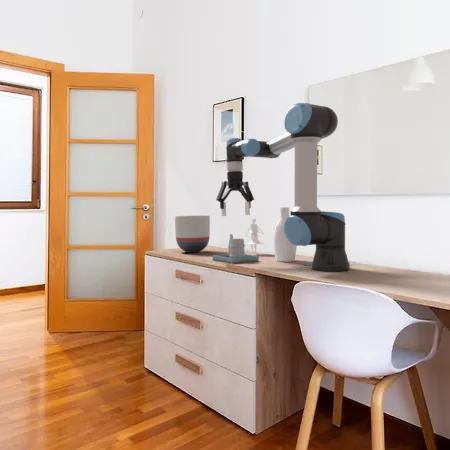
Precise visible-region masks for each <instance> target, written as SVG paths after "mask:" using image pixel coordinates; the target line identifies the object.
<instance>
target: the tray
mask: <svg viewBox="0 0 450 450" xmlns="http://www.w3.org/2000/svg"><path fill="white" fill-rule="evenodd" d="M229 255H230V254H229V253H226V254H224V253H223V254H215V255H214V254H213V255H212V261H216V262H219V263H226V264H230V263H237V264H243V263H242V262H246V263H251V262H250V261H256V262H259V261H260V259H259V258H260V257H259V255H252V254H245V255H246V256H245V257H243V258H230V256H229ZM258 260H259V261H258Z"/></svg>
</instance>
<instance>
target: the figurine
mask: <svg viewBox="0 0 450 450" xmlns="http://www.w3.org/2000/svg"><path fill="white" fill-rule="evenodd" d="M251 220H252V221H251V223H250V225H249V227H248V229H247V230H246V233H245V237H247V236H248V234H249V233H250V239H251V241H250V242H247V243H246V244H249V245H250V246H251V255H254V256H258V252H257V245H262V244H264V242H261V241H260V240H259V239H258V237H259V235H258V233H261V234H262V235H263V236H265V234H264V232H263V231H262V229H261V228H260V227H259V226H258V224H257V223H256V218H255V217H253V218H251Z"/></svg>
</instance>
